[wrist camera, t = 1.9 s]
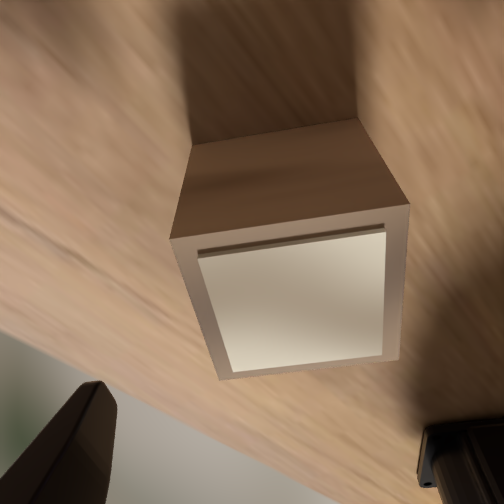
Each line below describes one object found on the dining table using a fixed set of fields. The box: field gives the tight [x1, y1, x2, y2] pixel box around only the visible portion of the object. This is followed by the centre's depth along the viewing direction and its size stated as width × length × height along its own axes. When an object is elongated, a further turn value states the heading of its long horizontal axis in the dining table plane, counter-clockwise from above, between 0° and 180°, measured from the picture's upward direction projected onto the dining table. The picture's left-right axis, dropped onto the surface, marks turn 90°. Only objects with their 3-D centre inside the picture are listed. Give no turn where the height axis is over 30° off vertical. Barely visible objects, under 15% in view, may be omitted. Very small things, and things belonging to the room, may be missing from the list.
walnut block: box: [169, 118, 410, 381], centre depth 12 cm, size 5×5×5 cm
